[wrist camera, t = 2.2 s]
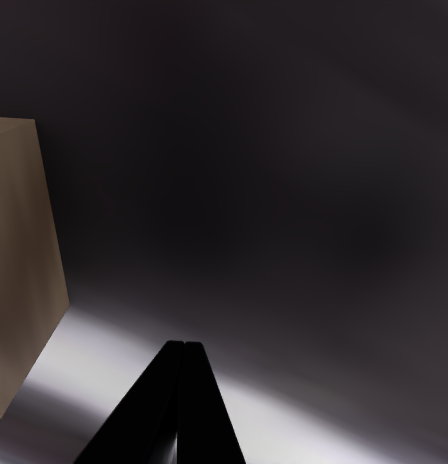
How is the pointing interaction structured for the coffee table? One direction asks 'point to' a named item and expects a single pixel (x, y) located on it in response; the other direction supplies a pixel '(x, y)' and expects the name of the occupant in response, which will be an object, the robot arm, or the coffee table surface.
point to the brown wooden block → (25, 257)
